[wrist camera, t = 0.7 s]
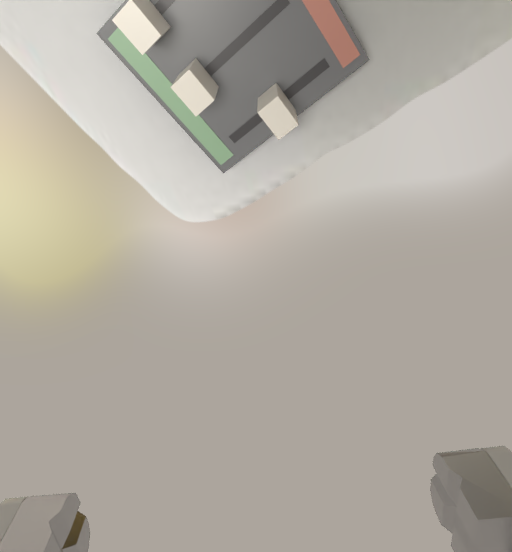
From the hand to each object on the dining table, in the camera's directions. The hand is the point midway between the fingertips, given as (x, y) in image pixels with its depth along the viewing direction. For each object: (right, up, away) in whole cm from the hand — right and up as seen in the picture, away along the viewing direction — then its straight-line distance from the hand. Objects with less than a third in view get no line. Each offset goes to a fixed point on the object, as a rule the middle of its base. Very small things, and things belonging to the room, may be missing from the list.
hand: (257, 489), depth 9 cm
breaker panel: (-2, +30, +34) cm, 46 cm away
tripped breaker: (+2, +24, +35) cm, 43 cm away
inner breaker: (-10, +30, +31) cm, 44 cm away
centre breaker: (-6, +26, +34) cm, 43 cm away
